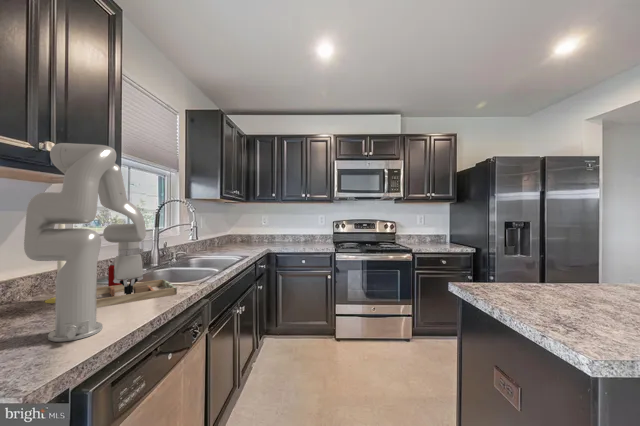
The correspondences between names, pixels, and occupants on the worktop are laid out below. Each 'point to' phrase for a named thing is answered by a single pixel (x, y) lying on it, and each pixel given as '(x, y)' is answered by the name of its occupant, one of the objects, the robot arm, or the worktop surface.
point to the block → (140, 289)
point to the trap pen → (136, 296)
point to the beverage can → (111, 276)
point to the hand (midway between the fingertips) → (128, 294)
